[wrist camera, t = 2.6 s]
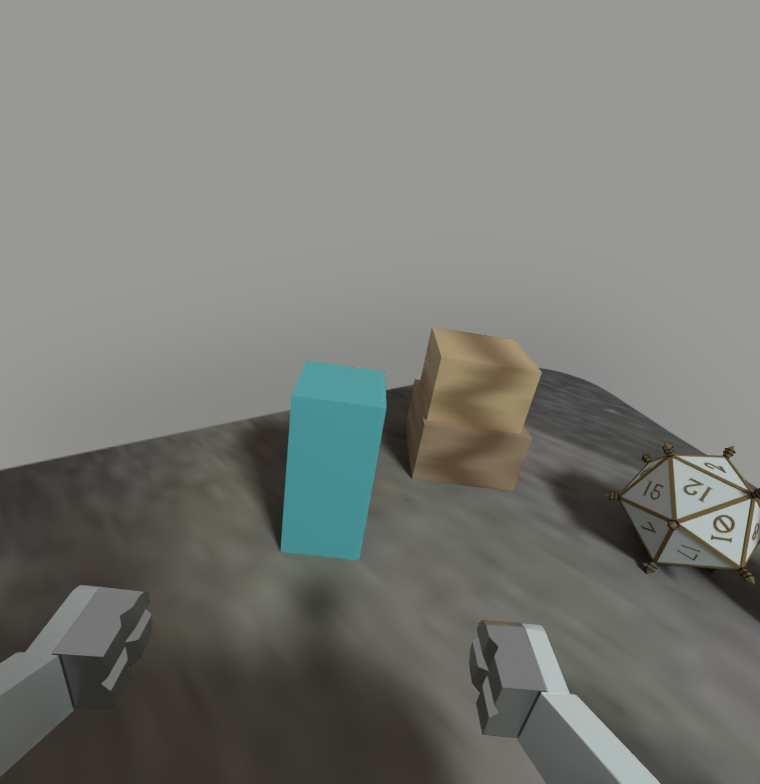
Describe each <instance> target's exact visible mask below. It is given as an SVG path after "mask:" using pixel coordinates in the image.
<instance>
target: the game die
mask: <svg viewBox="0 0 760 784" xmlns="http://www.w3.org/2000/svg"><path fill="white" fill-rule="evenodd" d="M662 448H663V450H664V452H665V454H667V455H666V456H663V457H660V458H658V459H655V460H651V458H650V456H649V455H648V454H643V453H642V460H644V462H646V463H647V464H646V465H645V467H644V468H643V469H642V470H641V471H640V472H639V473H638V474H637V475H636V476H635V478H634V479H633V480H632V481H631V482H630V483H629V484H628V485H627V486H626V487H625V489H624V490H623V491H622V492H621V493H620V494H615V492H614V493H612V492H611V491H610V492H609V493H606V494H604V496H606V497H607V498H609V500H611V499H613V500H615V499H617V500H619V502H620V504H621V505H622V507H623V509H624V511H625V513H626V514H627V516H628V518H629V520H630V522H631V523H632V525H633V527H634V529H635V531H636V532H637V534H638V536H639V538H640V540H641V541H642V543H643V545H644V547H645V549H646V550H647V552H648V554H649V556H650V558H651V559H652V561H651V562H650V563H648V565H647V566H646V573H647V574H649V573H652V572H655V569H657V568H656V566H657V564H663V565H675V566H687V567H699V568H707V569H709V570H711V571H713V572H714V571H715V570H716V569H724V570H736V571H740V573H741V574H740V575H741V576H742V577H743V579H744V580H745V581H748V582H750V583H752V584H754V585H755V583H754V575H752V574H751V572H750V571H748V570H746V569H745V566H746V564H747V562H748V561H749V559H750V557H751V556H752V554H753V553H754V551H755V549H756V548H757V546H758V544H759V543H760V502H759V500H758V498H760V488H759V489H755V491H754V492H753V491H752V489H751V488H750V487H749V485H748V484H747V483H746V481H745V480H744V478H743V477H742V476H741V474H740V473H739V472H738V470H737V469H736V468H735V467H734V465H733V464H732V462H731V461H730V460H729V458H730V457H731V456H733V454H734V453H735V451H734V446H732V447H729V448H725V451H723V452H724V454H723V456H713V455H712V456H711V455H688V454H673V451H674V450H673V446H670V445H669V444H667V443H665V445H664V447H662Z"/></svg>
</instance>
